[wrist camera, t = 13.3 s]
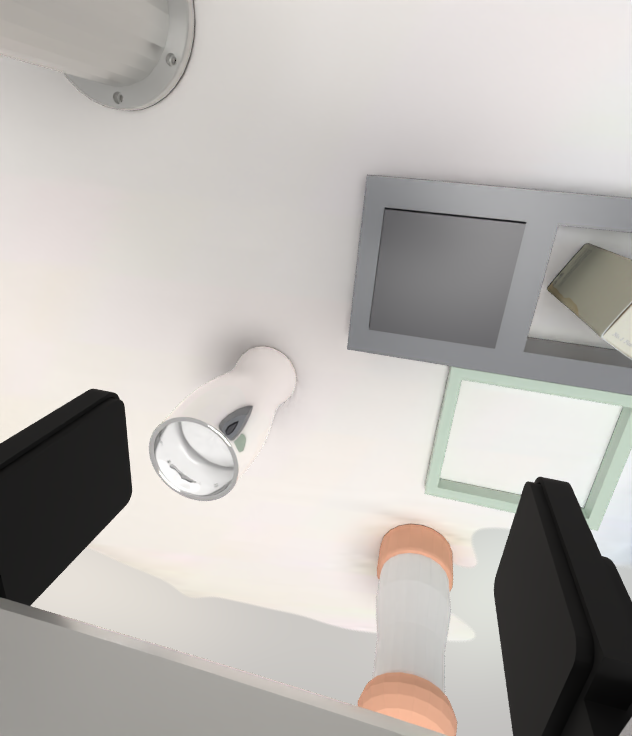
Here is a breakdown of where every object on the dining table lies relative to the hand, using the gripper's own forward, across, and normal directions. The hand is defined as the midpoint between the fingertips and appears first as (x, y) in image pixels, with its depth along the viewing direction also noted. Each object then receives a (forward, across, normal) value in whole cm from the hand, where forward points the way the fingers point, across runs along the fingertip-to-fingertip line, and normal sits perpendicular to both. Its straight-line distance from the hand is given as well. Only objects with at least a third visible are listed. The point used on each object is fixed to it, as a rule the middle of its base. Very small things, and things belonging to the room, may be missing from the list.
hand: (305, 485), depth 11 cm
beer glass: (+31, +11, +12) cm, 35 cm away
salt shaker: (+31, -6, +29) cm, 43 cm away
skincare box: (+31, -15, 0) cm, 34 cm away
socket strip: (+30, -9, 0) cm, 32 cm away
